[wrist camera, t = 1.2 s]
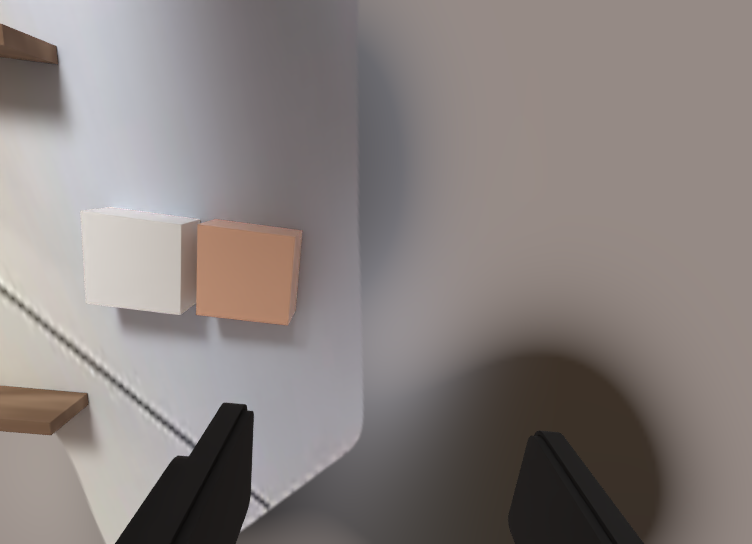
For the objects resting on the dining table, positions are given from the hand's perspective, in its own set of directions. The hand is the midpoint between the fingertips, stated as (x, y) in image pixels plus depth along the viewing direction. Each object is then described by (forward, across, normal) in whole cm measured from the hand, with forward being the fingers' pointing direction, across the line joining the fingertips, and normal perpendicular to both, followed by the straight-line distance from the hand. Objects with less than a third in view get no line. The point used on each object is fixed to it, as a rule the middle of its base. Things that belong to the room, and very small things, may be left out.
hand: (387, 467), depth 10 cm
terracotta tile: (+18, +8, 0) cm, 20 cm away
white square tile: (+18, +16, 0) cm, 24 cm away
